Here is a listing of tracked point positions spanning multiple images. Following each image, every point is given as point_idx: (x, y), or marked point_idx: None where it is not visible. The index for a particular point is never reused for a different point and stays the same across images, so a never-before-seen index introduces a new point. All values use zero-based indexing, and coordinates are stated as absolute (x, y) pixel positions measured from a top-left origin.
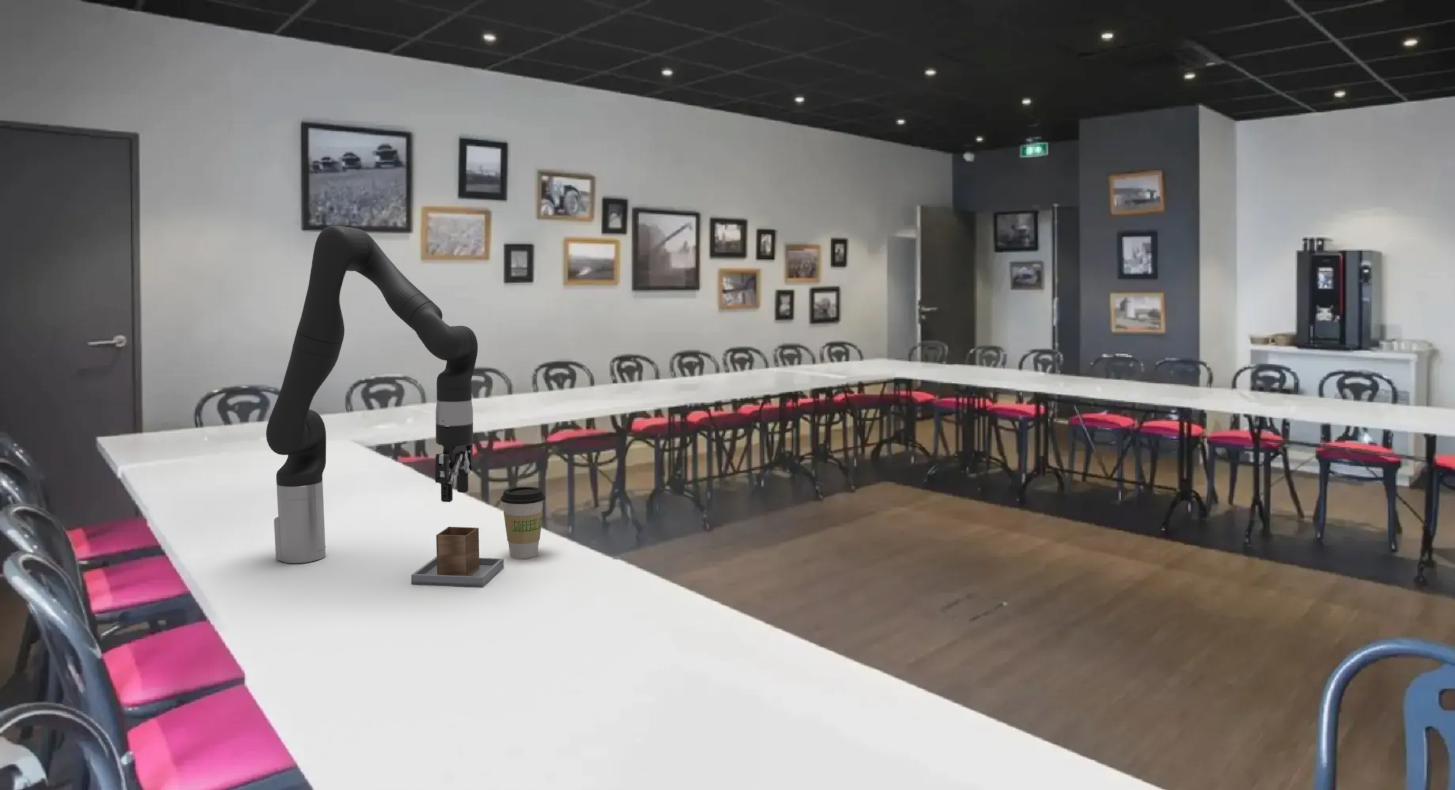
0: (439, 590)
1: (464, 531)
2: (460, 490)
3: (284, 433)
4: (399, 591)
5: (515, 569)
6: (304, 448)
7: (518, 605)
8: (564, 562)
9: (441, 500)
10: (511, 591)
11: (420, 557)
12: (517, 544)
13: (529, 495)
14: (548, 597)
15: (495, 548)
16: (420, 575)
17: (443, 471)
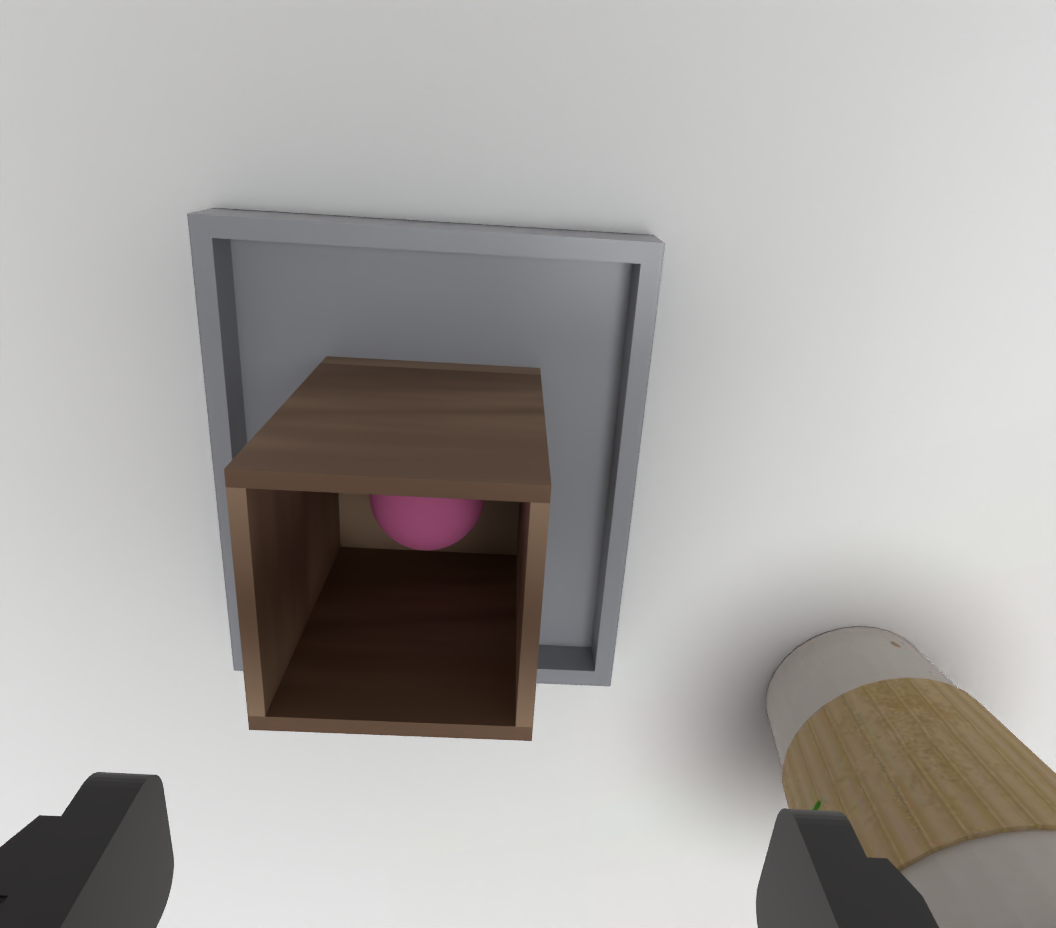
0: (149, 428)
1: (521, 613)
2: (781, 860)
3: None
4: (64, 178)
5: (573, 712)
6: None
7: None
8: (695, 887)
9: (95, 775)
10: (221, 771)
11: (860, 21)
12: (788, 748)
13: None
14: (179, 915)
15: (1017, 508)
16: (196, 286)
17: None
